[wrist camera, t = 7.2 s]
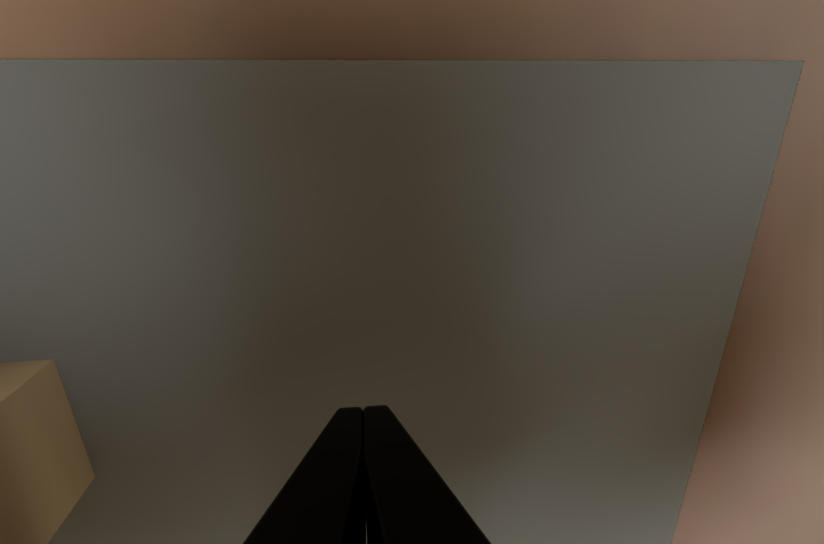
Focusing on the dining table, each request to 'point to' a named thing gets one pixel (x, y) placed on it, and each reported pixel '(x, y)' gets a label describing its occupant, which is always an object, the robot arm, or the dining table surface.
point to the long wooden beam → (37, 453)
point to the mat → (383, 275)
